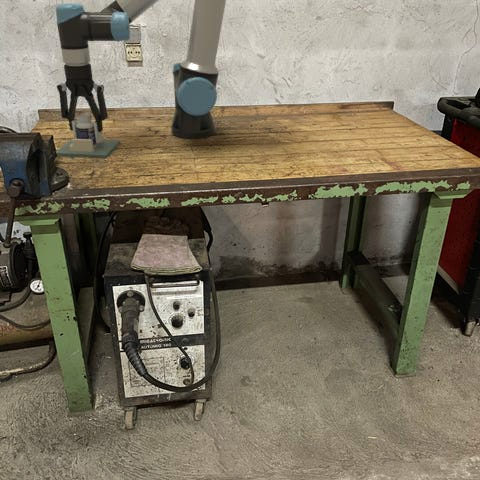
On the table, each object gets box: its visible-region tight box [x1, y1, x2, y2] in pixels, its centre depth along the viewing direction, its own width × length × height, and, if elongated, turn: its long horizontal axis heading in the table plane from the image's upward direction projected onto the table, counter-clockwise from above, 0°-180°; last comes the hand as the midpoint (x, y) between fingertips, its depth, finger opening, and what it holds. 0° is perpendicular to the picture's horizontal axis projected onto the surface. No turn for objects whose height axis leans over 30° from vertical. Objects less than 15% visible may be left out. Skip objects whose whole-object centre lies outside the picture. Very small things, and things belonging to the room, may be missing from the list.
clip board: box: [55, 131, 122, 159], centre depth 155 cm, size 16×14×4 cm
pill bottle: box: [76, 113, 97, 148], centre depth 153 cm, size 5×5×10 cm
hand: (88, 141), depth 154 cm, fingers open, 6 cm apart
